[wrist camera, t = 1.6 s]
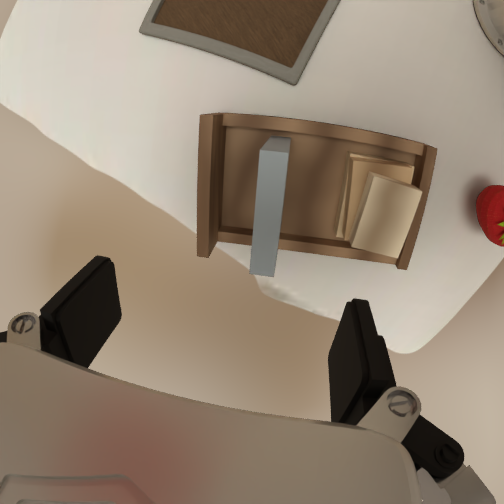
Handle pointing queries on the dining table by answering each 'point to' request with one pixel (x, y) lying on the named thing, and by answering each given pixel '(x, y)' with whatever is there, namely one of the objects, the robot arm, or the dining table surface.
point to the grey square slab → (269, 204)
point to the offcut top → (384, 215)
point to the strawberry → (492, 213)
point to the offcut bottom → (344, 187)
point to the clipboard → (245, 30)
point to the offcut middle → (358, 180)
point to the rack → (293, 181)
